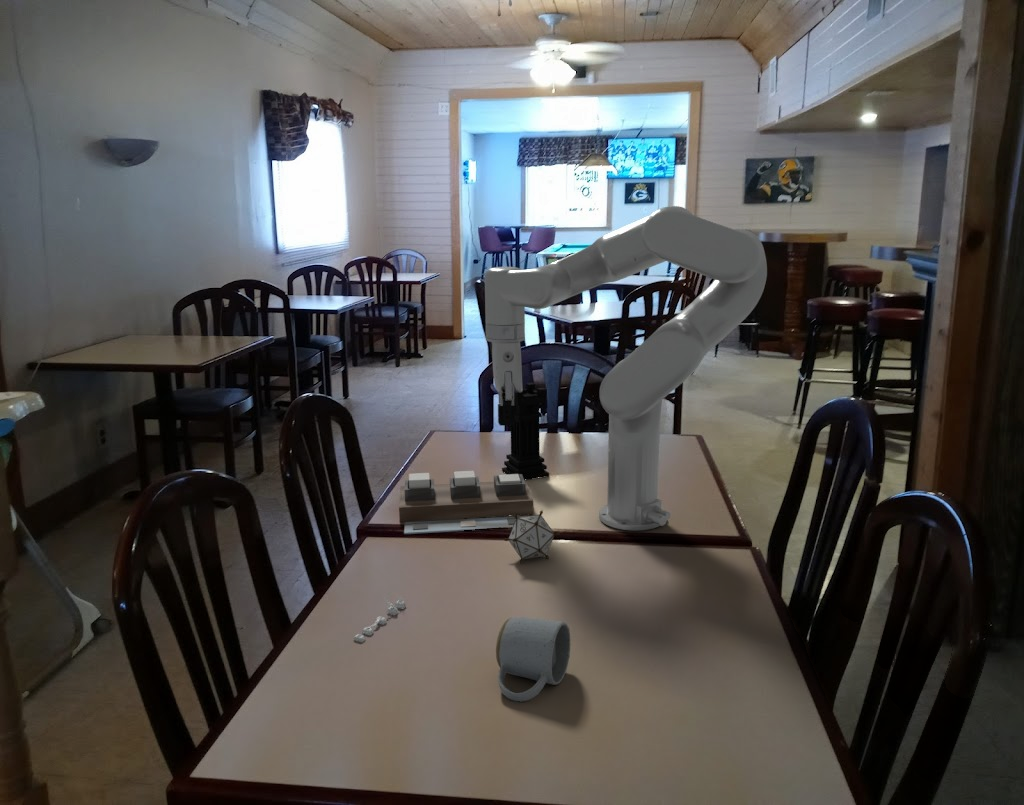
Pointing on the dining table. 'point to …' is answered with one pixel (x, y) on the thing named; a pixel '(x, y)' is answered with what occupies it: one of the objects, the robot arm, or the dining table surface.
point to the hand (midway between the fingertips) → (506, 424)
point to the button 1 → (419, 480)
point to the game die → (531, 536)
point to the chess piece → (526, 435)
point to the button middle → (464, 478)
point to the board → (463, 506)
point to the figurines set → (381, 619)
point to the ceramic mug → (532, 653)
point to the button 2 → (509, 479)
